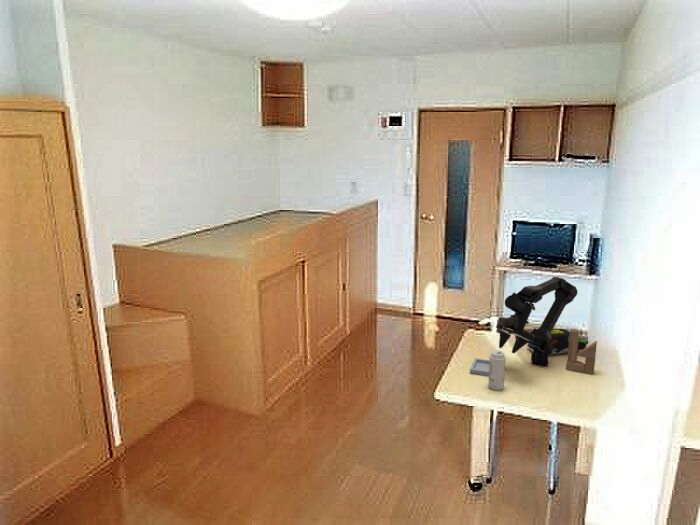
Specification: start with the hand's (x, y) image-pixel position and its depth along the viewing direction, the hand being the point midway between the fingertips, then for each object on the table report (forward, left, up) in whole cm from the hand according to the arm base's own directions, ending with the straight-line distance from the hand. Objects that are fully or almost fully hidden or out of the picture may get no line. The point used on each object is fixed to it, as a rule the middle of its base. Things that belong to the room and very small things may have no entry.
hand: (506, 350), depth 212 cm
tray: (+8, -4, -12) cm, 15 cm away
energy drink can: (+2, +11, -12) cm, 16 cm away
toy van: (-19, -35, -12) cm, 42 cm away
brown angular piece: (-29, -17, -12) cm, 36 cm away
